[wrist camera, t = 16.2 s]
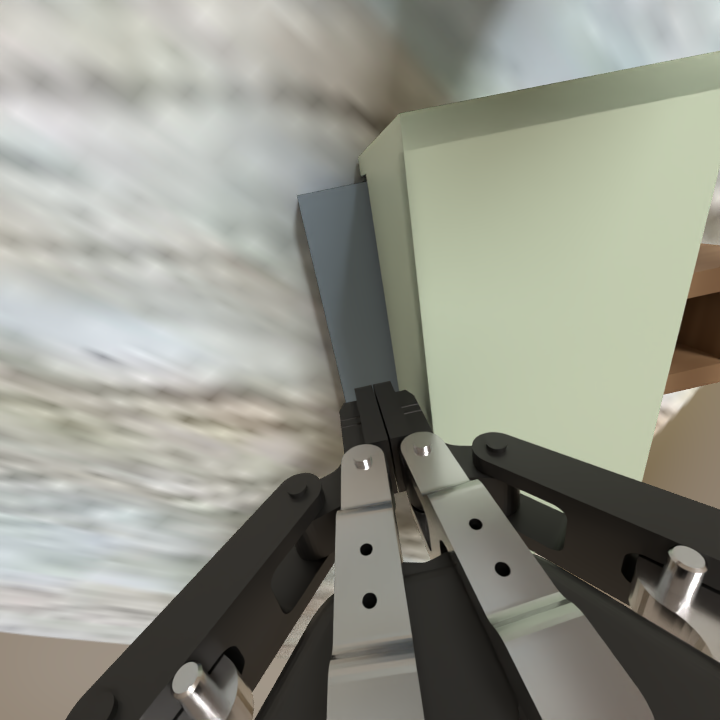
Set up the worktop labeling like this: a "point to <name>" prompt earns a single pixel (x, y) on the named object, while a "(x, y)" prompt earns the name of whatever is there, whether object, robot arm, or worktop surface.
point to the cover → (547, 254)
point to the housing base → (350, 284)
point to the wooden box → (699, 327)
